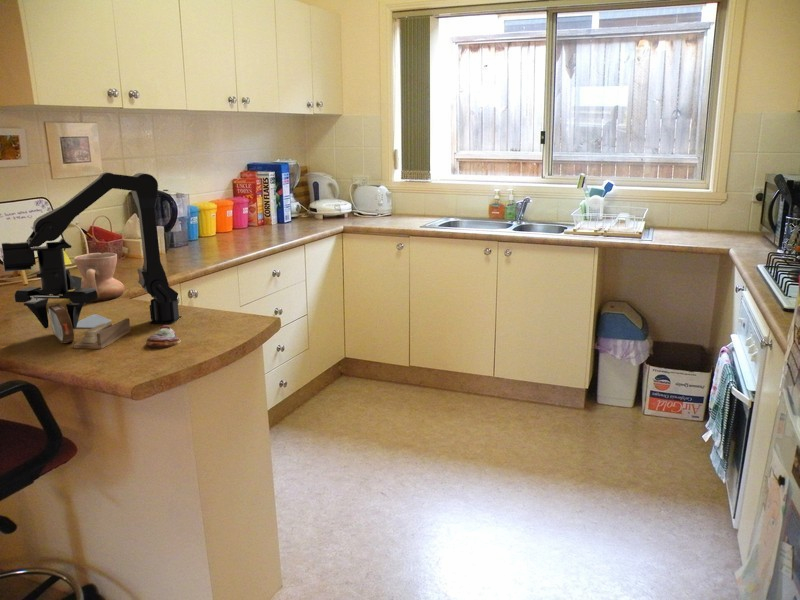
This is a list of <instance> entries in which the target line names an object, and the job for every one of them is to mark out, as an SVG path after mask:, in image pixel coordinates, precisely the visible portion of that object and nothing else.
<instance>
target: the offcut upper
mask: <svg viewBox="0 0 800 600" xmlns="http://www.w3.org/2000/svg"><path fill="white" fill-rule="evenodd" d="M112 325H113V324H112V323H110V322H108V323H102V324H100V325H98V326H96V327H94V328H91V329H88V330H86V331H84V337H96V336H97V333H99V332H101V331H102V330H104V329H106V328H108V327H110V326H112Z"/></svg>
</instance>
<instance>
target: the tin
mask: <svg viewBox="0 0 800 600" xmlns="http://www.w3.org/2000/svg"><path fill="white" fill-rule="evenodd" d="M47 314H48V317H49V319H50V327H51V330H52V333H53V335H54V336H55V337H56V338H57V339H58V341H60V343H62V344H66V343H70V342H74V341H75V331H74V329H73V326H72V322H71V319H70V316H69V314H68V311H67V308H66V307H64V306H62V304H60V303H57V304H51V305H49V306H47Z"/></svg>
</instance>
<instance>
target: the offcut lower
mask: <svg viewBox="0 0 800 600" xmlns="http://www.w3.org/2000/svg"><path fill="white" fill-rule="evenodd" d="M81 341H82V343H95V342H97V336H96V337H85V336H82V337H81Z"/></svg>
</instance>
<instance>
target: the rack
mask: <svg viewBox="0 0 800 600" xmlns="http://www.w3.org/2000/svg"><path fill="white" fill-rule="evenodd" d="M130 323H131V321H130V317H129V318H128V317H127V318H125V319H122V320H121V321H118V322H117V323H115V324H112V326H110V327H108V328H106V329H104V330H102V331H101V332H99V333H97V342H95V343H82V340H81V341H79V342H77V343H75V344H73V348H74V349H92V350H93V349H95V350H99V349H104V348H105V347H108V346H109V345H111V344H112V343H114V342H116V341H117V340H119V339H121V338H122V337H124V336H125V335H127V334H128V333H130V332H131V324H130Z"/></svg>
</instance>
